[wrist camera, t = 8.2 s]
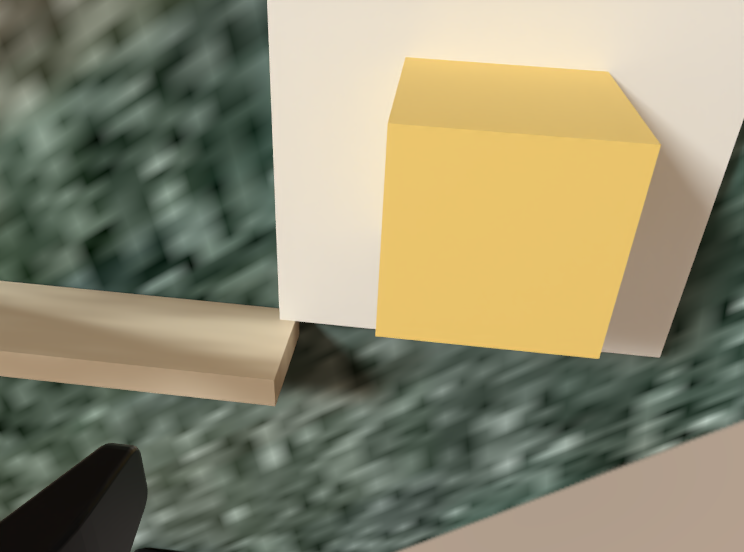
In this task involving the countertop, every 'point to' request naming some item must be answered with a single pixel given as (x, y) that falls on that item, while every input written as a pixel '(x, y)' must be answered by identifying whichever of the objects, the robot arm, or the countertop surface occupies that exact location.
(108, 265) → the countertop surface
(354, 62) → the mat
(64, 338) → the bracket
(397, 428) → the countertop surface
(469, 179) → the block
